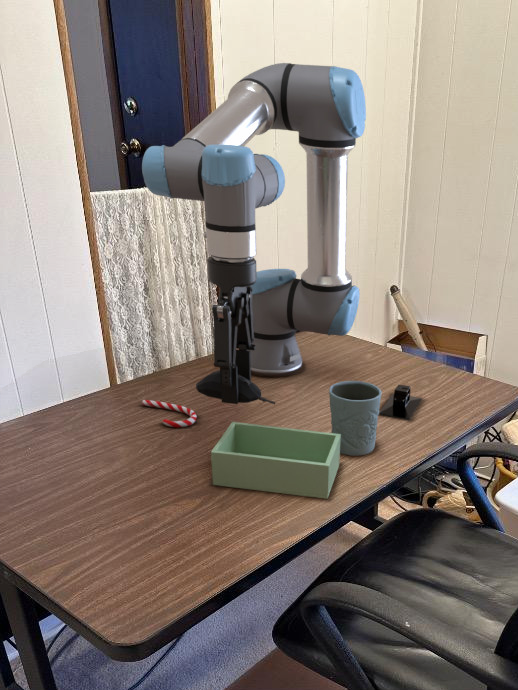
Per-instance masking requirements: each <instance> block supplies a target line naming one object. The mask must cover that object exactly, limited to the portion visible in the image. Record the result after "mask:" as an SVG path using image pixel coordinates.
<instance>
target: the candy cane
mask: <svg viewBox="0 0 518 690" xmlns="http://www.w3.org/2000/svg"><path fill="white" fill-rule="evenodd" d="M141 404H142V405H141V406H145V407H151V408H159V409H165V410H169V411H174V412H178V413H183V414H185V415H188V417H189V418H187V419H183V420H178V421H177V420H175V421H174V420H169V419H167V418H165V419H163V420H162V424H163V425H165V426H166V427H171V428H185V427H189V426H191V425H193V424H195V422H196V421H197V419H198V416H197V413H196V412H195V411H194V410H193V409H191V408H189V407H186V406H183V405H179V404H174V403H170V402H163V401H157V400H149V399H142V401H141Z"/></svg>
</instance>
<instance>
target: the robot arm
mask: <svg viewBox="0 0 518 690" xmlns="http://www.w3.org/2000/svg"><path fill="white" fill-rule="evenodd" d="M366 119H367V107H366V96H365V91H364V85H363V83H362V80H361V78H360V76H359V74H358V73H357V72H356V71H354V70H353V69H350V68H345V67H340V66H335V65H316V64H299V63H292V62H280V63H273V64H270V65H267V66H264V67H262V68H259V69H257V70H255V71H253V72H251V73H249V74H248V75H245V76H244V77H242V78H241V79H240V80H238V81H237V82H236V83H235V84H234V85H233V86H232V87H231V88H230V90H229V92H228V94H227V99H226V100H225V101H223V102H222V103H221V104H220V105H219V106H218V107H217V108H215V109H214V110H213V111H212V112H211V113H210V114H208V115H207V116H206V117H205V118H204V119H203V120H202V121H201V122H199V123H198V124H197V125H196V126H195V127H194V128H192V129H191V130H190V131H188V133H187V134H185V135H184V136H183V137H182V138H181V139H180V140H179V141H178V142H177V143H175V144H174V145H173V146H166V145H151V146H149V147H148V148H146V150H145V152H144V155H143V157H142V163H141V171H142V172H141V173H142V177H143V181H144V184H145V186H146V188H147V190H148V191H149V192H150V193H152V194H153V195H155V196H160V197H165V198H169V199H171V200H172V199H179V200H190V201H200V202H204V217H205V221H204V223H205V231H204V232H203V234H202V235H203V236H202V237H203V238H204V239H206V252H207V254H208V255H209V257H208V258H207V260H206V262H207V278H208V281H209V282H210V283H211V284H213V285H215V286H217V287H218V288H219V291H218V292H219V293H218V294H219V295H218V296H217V304H212V307H211V311H212V318H213V319H212V320H213V355H214V356H213V358H214V359H213V366H214V367H215V368H219V371H220V378H221V398H222V399H221V403H224V404H230V405H231V404H232V405H239V404H240V403H239V398H238V375H240V376H242V377H244V378H246V379H248V380H249V381H251V382H252V375H253V376H257V377H258V376H259V377H265V378H283V377H288V376H291V375H295V374H297V373H299V372H300V371H301V370H302V369H303V358H302V354H301V351H300V348H299V346H298V342H297V339H296V332H298V331H299V332H300V331H302V332H307V333H308V332H309V333H315V334H321V335H327V336H337V337H338V336H339V337H342V336H346V335H347V334H348V333H349V332H350V331H351V330H352V327H353V324H354V322H355V320H356V316H357V312H358V308H359V303H360V295H361V294H360V288H359V287H358V286H356V285H354V284H353V276H352V274H351V273H350V272H349V271H348V270H347V269H346V266H347V265H346V261H347V259H346V257H347V219H348V218H347V217H348V216H347V215H348V175H349V174H348V173H349V172H348V170H349V154H350V153H351V151H353V149H354V148H355V147H356V142H357V141H356V140H357V139H358V138H361V137H362V136H363V134H364V132H365V128H366ZM269 130H270V131H271V130H282V131H289V132H297V133H298V144H299V146H300V147H301V148H302V149H303V150H304V151H305V155H306V156H305V157H306V158H305V159H306V230H307V231H306V234H307V235H306V237H307V238H306V239H307V241H306V243H307V268H306V269H305V270H304V271H303V272H302V273H301V275H300V278H297V276H298V275H297V273H296V271H295V270H293V269H290V268H269V269H263V270H258V271H257V260H256V259H255V258H254V257H256V255H257V230H256V229H257V227H256V209H259V208H262V207H267V206H270V205H271V204H273V203H274V202H275V201H277V200H278V199H279V198H280V197H281V196H282V194H283V193H284V191H285V186H286V176H285V172H284V169H283V167H282V166H281V164H280V163H279V161H277V159H275V158H274V157H273V156H271V155H268V154H263V153H254V152H253V150H252V149H251V148H250V147H248V146H246V145H248V143H249V142H250V141H251V140H252V139H253V138H254V137H255V136H261V135H263V134H265V133H266V132H268V131H269Z"/></svg>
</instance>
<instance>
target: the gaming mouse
mask: <svg viewBox="0 0 518 690" xmlns="http://www.w3.org/2000/svg"><path fill="white" fill-rule="evenodd" d="M195 388H196V391H197V392H198V393H199V394H201V395H204V396H206V397H208V398H213V399H216V400H217V399H218V400H222V398H221V378H220V370H216V371H213V372H211V373H209V374H207V375H205V376H204V377H203V378H202V379H201V380H199V381H198V382H197V383H196V384H195ZM238 398H239V403H238V404H248V403H252V402H256V401H258V400H259V401H261V402H264V403H270V404H273V405H276V401H273V400H270V399H267V398H266V397H263V394H262V389H260V387H259V386H258V385H257V384H256V383H254V382H252V380H251V381H249V380H248V379H246V378H244V377H242V376H240V375H238Z"/></svg>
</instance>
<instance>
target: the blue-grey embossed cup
mask: <svg viewBox="0 0 518 690" xmlns="http://www.w3.org/2000/svg"><path fill="white" fill-rule="evenodd" d="M328 393H329V409H330V418H331V420H330V425H331V432H330V433H334V434H341V439H340V455H345V456H354V457H355V456H357V457H358V456H365V455H368V454H370V453H372V452H373V451H374V449H375V446H376V439H377V428H378V422H379V421H378V417H379V411H380V406H381V401H382V400H381V399H382V393H383V392H382V389H380V387H378V386H377V385H375V384H373V383H370V382H366V381H361V380H345V381H344V380H343V381H339V382H336V383H334V384H332V385H331V386H330V387H329V389H328Z"/></svg>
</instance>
